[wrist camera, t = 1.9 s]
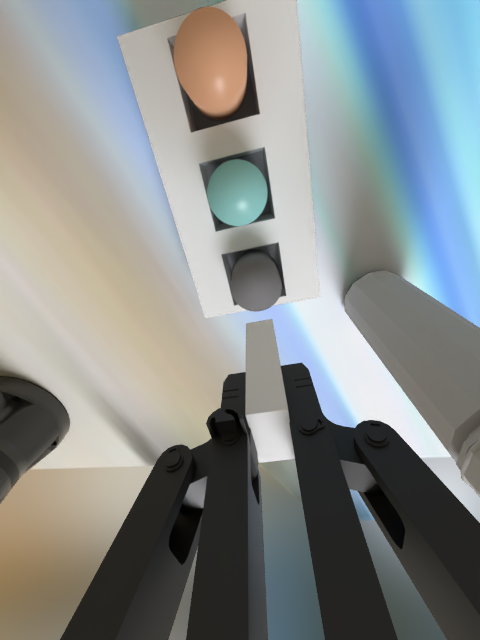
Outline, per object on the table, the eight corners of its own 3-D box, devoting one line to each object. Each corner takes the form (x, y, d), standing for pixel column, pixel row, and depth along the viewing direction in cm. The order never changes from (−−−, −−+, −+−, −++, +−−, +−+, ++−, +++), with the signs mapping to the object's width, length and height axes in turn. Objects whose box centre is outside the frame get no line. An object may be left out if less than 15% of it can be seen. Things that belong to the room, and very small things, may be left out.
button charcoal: (238, 293, 29) (236, 315, 24) (228, 253, 26) (225, 269, 22) (278, 285, 28) (284, 306, 24) (272, 244, 26) (277, 258, 22)
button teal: (221, 221, 25) (215, 231, 21) (208, 169, 23) (200, 167, 19) (267, 211, 25) (271, 219, 20) (258, 156, 23) (261, 152, 18)
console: (210, 298, 32) (205, 318, 28) (142, 64, 22) (116, 36, 18) (309, 279, 31) (320, 296, 27) (284, 19, 21) (294, -22, 17)
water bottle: (333, 322, 34) (497, 596, 12) (351, 262, 30) (643, 496, 8) (404, 329, 34) (694, 609, 12) (431, 270, 30) (923, 519, 8)
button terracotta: (198, 126, 22) (186, 114, 17) (181, 55, 20) (163, 20, 15) (251, 112, 21) (253, 95, 17) (240, 37, 19) (238, -5, 15)
